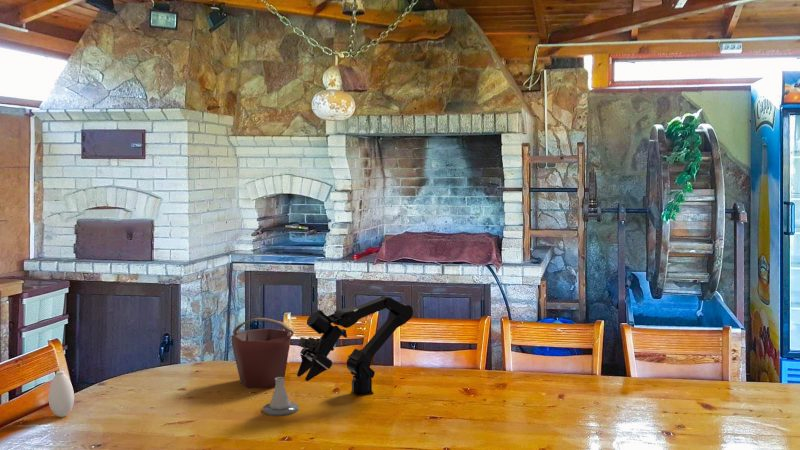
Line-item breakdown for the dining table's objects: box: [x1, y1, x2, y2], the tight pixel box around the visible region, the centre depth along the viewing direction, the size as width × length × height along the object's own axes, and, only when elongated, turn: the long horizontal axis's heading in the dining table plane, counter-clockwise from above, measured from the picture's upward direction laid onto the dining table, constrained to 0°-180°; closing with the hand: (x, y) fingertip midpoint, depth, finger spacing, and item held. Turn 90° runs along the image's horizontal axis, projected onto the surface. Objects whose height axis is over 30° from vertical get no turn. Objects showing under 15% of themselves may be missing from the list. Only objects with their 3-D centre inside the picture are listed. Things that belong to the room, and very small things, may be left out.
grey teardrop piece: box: [48, 363, 75, 418], centre depth 252 cm, size 8×8×18 cm
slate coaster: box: [262, 401, 299, 417], centre depth 257 cm, size 12×12×1 cm
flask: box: [269, 377, 292, 410], centre depth 257 cm, size 7×7×10 cm
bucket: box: [231, 317, 294, 390], centre depth 288 cm, size 24×22×25 cm
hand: (302, 378), depth 262 cm, fingers open, 9 cm apart
